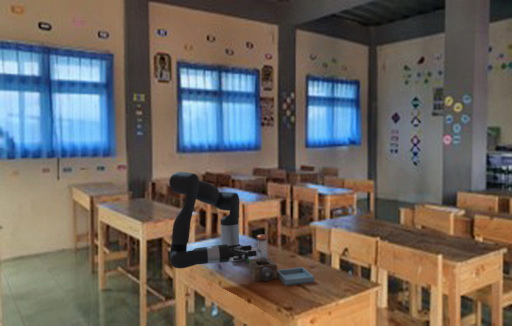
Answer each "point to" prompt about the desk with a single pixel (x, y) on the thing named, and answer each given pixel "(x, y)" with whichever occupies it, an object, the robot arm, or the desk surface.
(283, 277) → the tray
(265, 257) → the pin
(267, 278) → the block
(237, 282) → the desk surface
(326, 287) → the desk surface
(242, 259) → the tabbed white plastic disc
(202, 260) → the robot arm
